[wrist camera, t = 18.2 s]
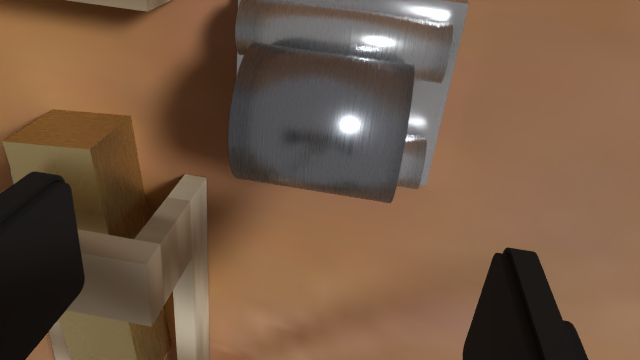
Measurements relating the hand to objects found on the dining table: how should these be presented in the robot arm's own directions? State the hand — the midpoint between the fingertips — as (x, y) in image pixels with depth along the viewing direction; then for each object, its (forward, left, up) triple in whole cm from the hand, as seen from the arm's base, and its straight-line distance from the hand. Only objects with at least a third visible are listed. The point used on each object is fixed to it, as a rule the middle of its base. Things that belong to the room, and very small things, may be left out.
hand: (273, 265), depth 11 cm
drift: (-9, +10, -11) cm, 17 cm away
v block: (+1, 0, -11) cm, 11 cm away
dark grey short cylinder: (+2, 0, -5) cm, 5 cm away
